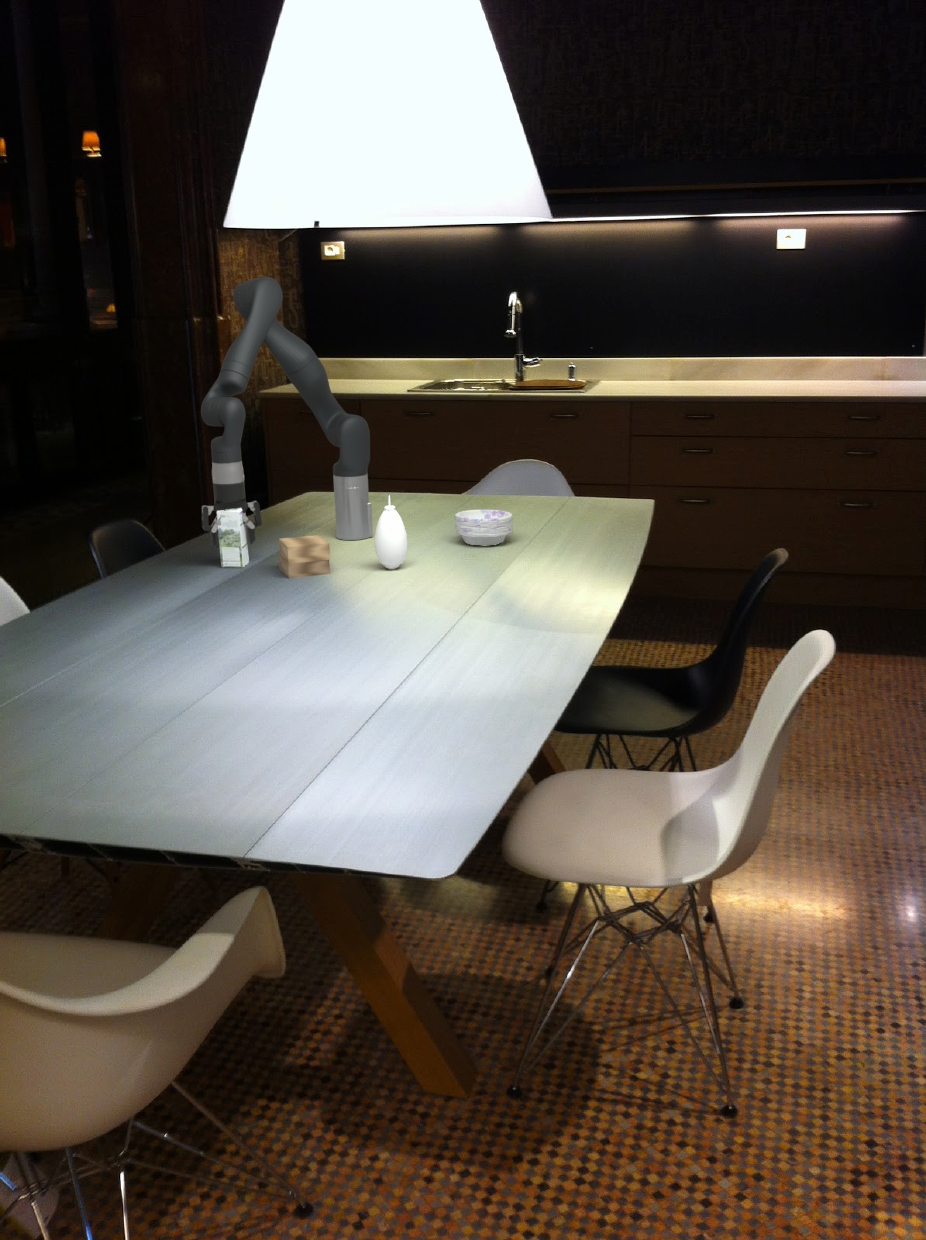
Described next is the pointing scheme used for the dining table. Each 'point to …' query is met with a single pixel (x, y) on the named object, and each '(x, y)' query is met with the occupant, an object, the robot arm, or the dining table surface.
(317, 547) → the tower top block
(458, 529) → the paper bowls
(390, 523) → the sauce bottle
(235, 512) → the syrup box
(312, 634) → the dining table surface
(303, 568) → the tower base block
